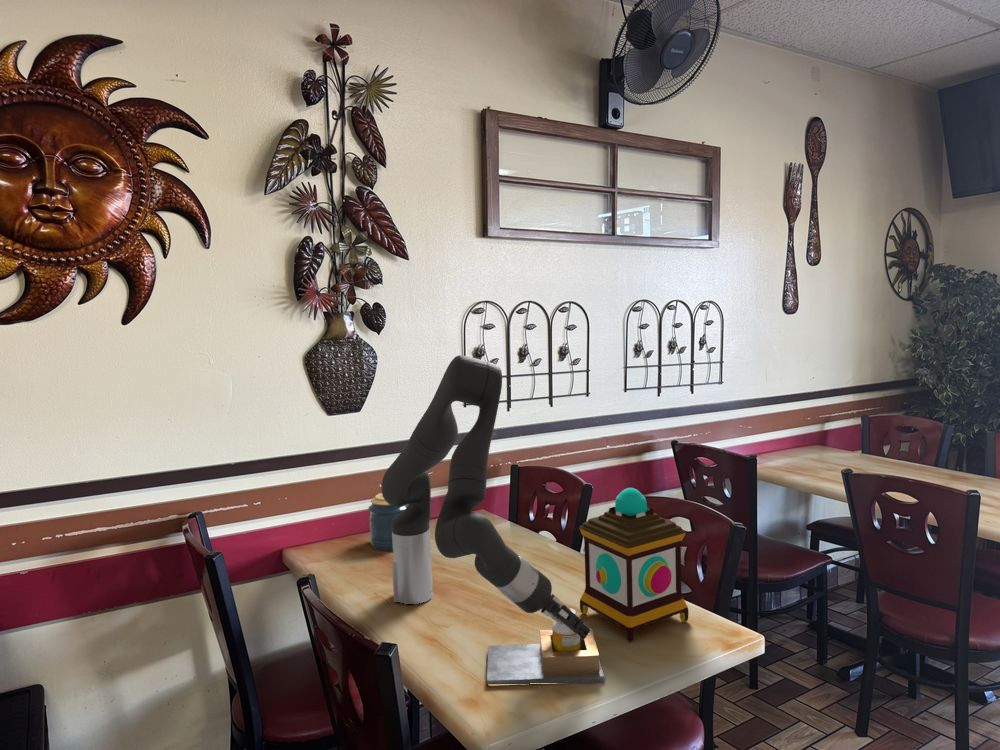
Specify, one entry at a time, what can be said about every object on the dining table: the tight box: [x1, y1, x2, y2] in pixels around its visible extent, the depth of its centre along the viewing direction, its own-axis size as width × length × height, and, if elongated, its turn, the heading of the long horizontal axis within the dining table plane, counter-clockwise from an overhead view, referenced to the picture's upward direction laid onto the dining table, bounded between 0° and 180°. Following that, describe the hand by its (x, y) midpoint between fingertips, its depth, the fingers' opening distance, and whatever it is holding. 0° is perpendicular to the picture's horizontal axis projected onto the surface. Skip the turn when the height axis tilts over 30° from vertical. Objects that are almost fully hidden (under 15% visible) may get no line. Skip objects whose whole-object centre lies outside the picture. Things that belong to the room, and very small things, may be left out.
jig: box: [486, 628, 605, 685], centre depth 131 cm, size 22×13×5 cm, turn 90°
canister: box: [368, 492, 409, 552], centre depth 203 cm, size 13×13×18 cm
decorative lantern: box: [578, 487, 689, 643], centre depth 148 cm, size 20×20×30 cm
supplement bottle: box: [551, 607, 580, 652], centre depth 130 cm, size 5×5×10 cm
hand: (573, 625), depth 131 cm, fingers open, 8 cm apart
